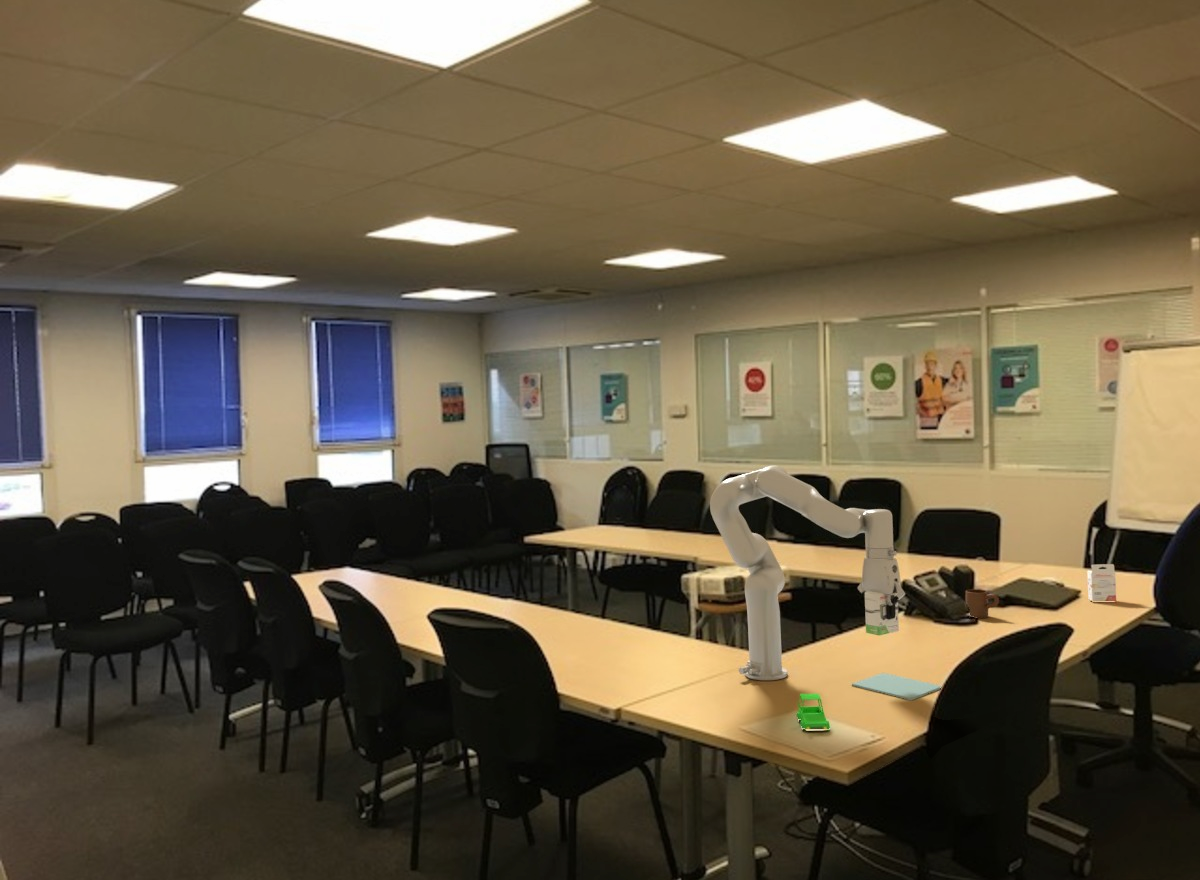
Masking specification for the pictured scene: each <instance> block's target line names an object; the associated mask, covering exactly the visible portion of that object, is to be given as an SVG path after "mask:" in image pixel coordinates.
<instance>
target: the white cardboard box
mask: <svg viewBox="0 0 1200 880" xmlns="http://www.w3.org/2000/svg"><path fill="white" fill-rule="evenodd" d="M896 595H897V593H895V596H896ZM887 605H888V602H887V599H886V596H885V595H884V594H882V593H877V592H872V591H866V592H865V598H864V607H865V608H864V609H865V610H864V611H865V617H864V618H865V634H871V635H874V636H884V635H888V634H892V633H896V632H899V630H900V629H899V628H900V627H899V625H900V624H899V623H900V621H899V601H898V602H897V604H895V610H896V615H895V618H893V619H890V620H889V619H887V614H886V606H887Z"/></svg>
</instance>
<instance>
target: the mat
mask: <svg viewBox="0 0 1200 880" xmlns="http://www.w3.org/2000/svg"><path fill="white" fill-rule="evenodd" d="M852 685H853V686H852ZM851 686H852V687H855V686H857V687H856V688H859V687H860V688H859V689H863V688H865V689H864V690H867V689H868V690H867V691H871V690H872V691H871V692H875V691H877V692H876V693H879V692H881V693H880V694H883V693H885V694H884V695H887V694H888V695H887V696H891V695H892V697H895V696H896V698H899V697H900V698H899V699H903V698H904V700H908V701H914V700H916V699H919V698H921V697H924V696H926V695H929V694H931V692H932V693H934V692H937V691H938V690H941V689H940V687H941V686H942V685H940V684H935V683H930V682H926V681H921V680H917V679H912V678H908V677H904V676H899V675H896V674H895V675H894V674H890V673H886V672H882V673H879V674H876V675H873V676H870V677H868V678H863V679H862V680H859V681H856V682H853V683H851ZM928 693H929V694H928Z"/></svg>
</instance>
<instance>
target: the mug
mask: <svg viewBox="0 0 1200 880" xmlns="http://www.w3.org/2000/svg"><path fill="white" fill-rule="evenodd" d="M989 599H993V602H989ZM999 599H1000V598H999V596H998V595H997V594H995V593H989V594H988V591H987V590H985V589H977V588H976V589H974V588H973V589H966V590H965V605H966V604H967V605H968V607H969V609H970V615H971V616H974V617H977V618H982V619H987V618H988V617H989V609H990V608H996V607H997V606H998V605H999V603H1000V600H999ZM986 617H987V618H986Z"/></svg>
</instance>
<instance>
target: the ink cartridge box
mask: <svg viewBox="0 0 1200 880" xmlns="http://www.w3.org/2000/svg"><path fill="white" fill-rule="evenodd" d="M1090 568H1091V570H1087V573H1086V575H1087V576H1086V577H1087V596H1088V599H1090V600H1092V601H1116V602H1117V590H1116V588H1117V587H1116V586H1117V585H1116V584H1117V581H1116V572H1115V565H1114V564H1113V563H1110V564H1109V563H1108V564H1107V563H1106V564H1104V563H1103V564H1101V563H1100V564H1091V566H1090ZM1088 599H1087V600H1088Z"/></svg>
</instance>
